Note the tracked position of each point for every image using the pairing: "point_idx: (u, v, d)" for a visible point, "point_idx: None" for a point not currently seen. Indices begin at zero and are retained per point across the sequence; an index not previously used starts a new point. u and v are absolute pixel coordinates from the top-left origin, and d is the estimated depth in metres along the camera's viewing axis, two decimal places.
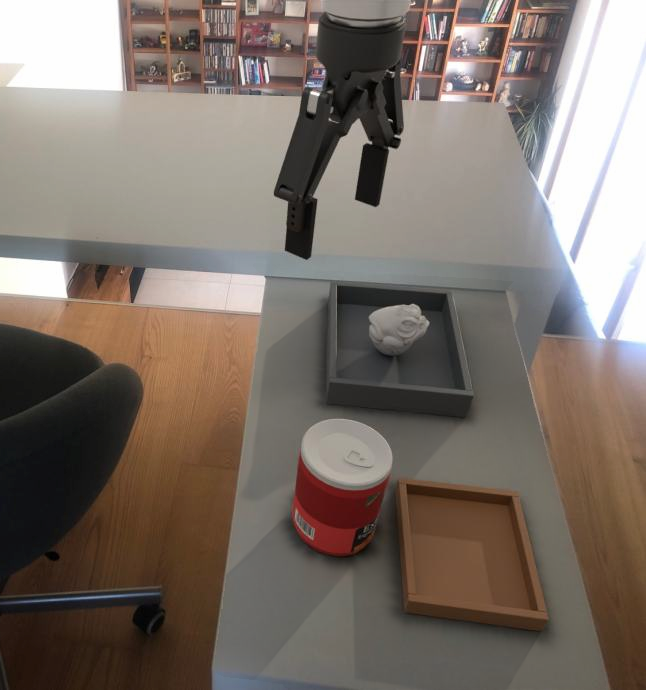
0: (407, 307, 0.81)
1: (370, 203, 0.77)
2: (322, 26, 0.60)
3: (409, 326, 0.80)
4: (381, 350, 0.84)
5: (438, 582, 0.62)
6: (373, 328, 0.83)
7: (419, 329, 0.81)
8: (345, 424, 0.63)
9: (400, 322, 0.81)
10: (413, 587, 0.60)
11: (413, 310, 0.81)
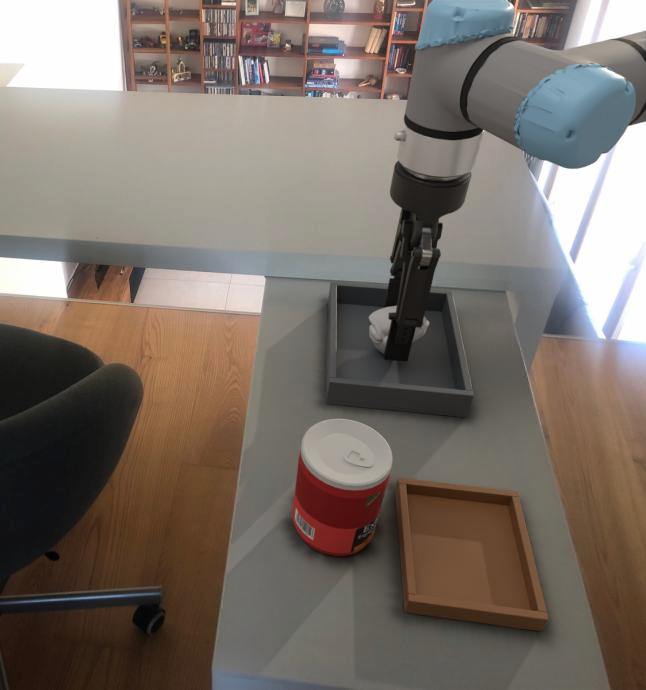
0: None
1: None
2: (415, 184, 0.68)
3: None
4: (381, 350, 0.84)
5: (438, 582, 0.62)
6: (373, 328, 0.83)
7: (419, 329, 0.81)
8: (345, 424, 0.63)
9: None
10: (413, 587, 0.60)
11: None
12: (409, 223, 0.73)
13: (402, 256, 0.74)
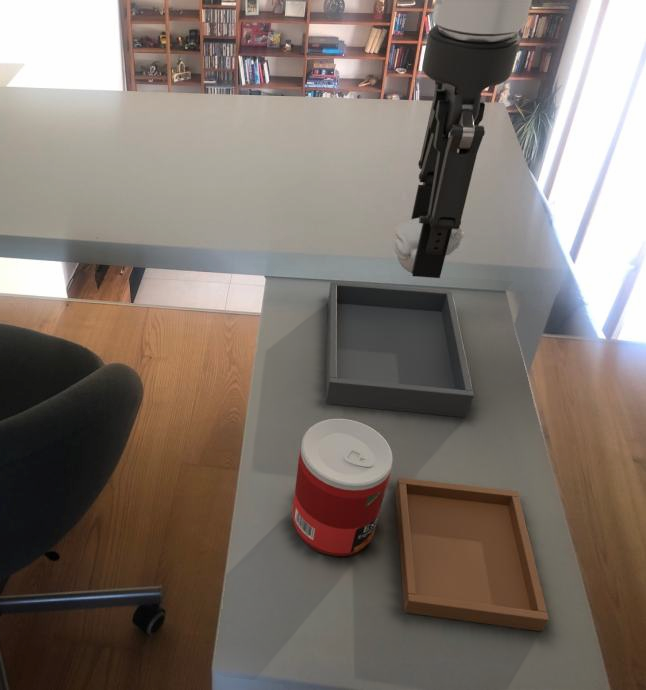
0: None
1: None
2: (454, 47, 0.57)
3: None
4: (408, 268, 0.73)
5: (438, 582, 0.62)
6: (399, 241, 0.72)
7: (454, 239, 0.70)
8: (345, 424, 0.63)
9: None
10: (413, 587, 0.60)
11: None
12: (445, 103, 0.62)
13: (436, 144, 0.63)
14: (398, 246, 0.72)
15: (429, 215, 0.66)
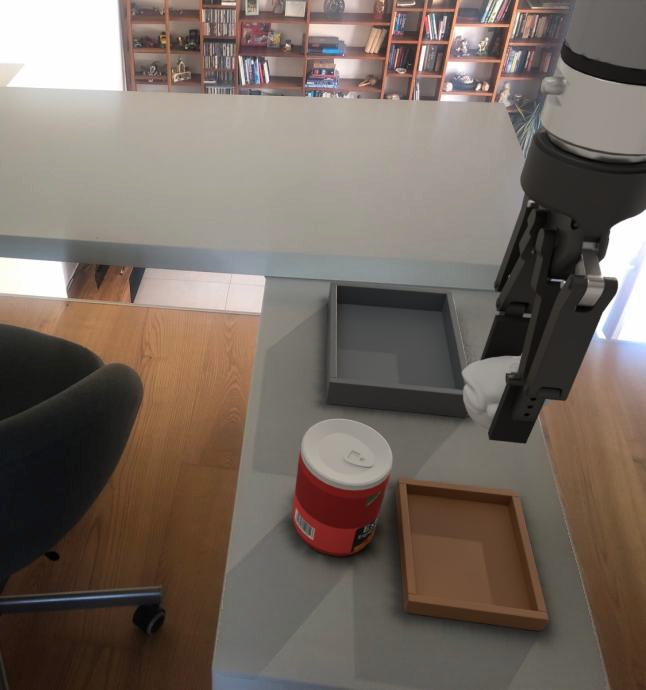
0: None
1: None
2: (579, 168, 0.40)
3: None
4: (481, 423, 0.56)
5: (438, 582, 0.62)
6: (471, 391, 0.55)
7: None
8: (345, 424, 0.63)
9: None
10: (413, 587, 0.60)
11: None
12: (552, 234, 0.44)
13: (537, 287, 0.46)
14: (469, 397, 0.55)
15: (521, 376, 0.48)
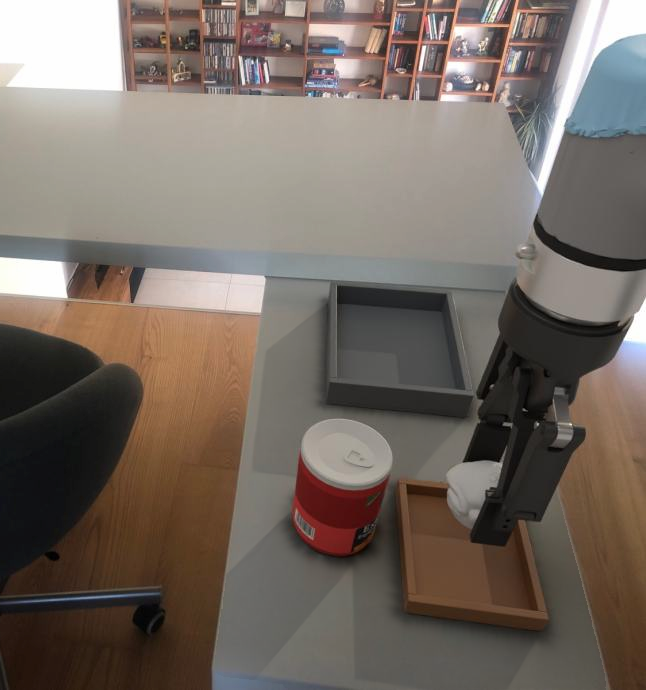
0: None
1: None
2: (550, 329, 0.43)
3: None
4: (464, 524, 0.59)
5: (438, 582, 0.62)
6: (454, 495, 0.58)
7: None
8: (345, 424, 0.63)
9: None
10: (413, 587, 0.60)
11: None
12: (527, 373, 0.48)
13: (514, 419, 0.49)
14: (452, 501, 0.58)
15: (499, 495, 0.52)
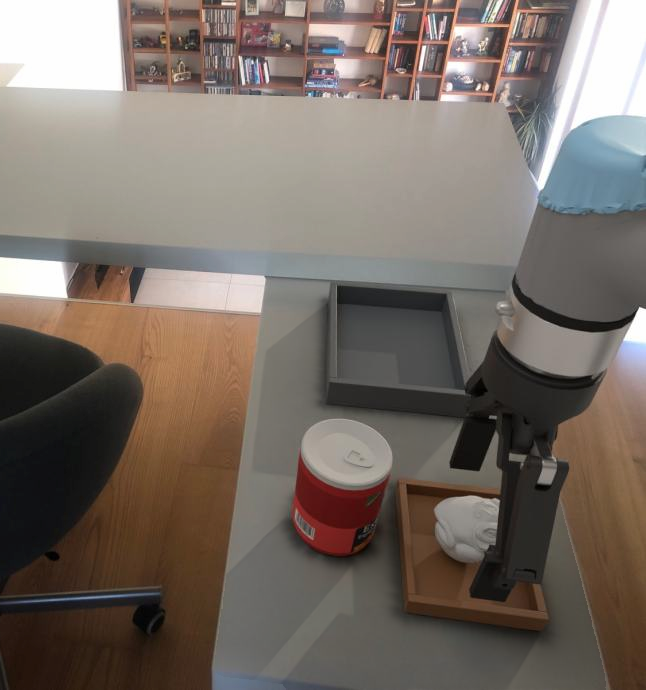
0: (489, 506, 0.60)
1: (472, 468, 0.66)
2: (528, 381, 0.46)
3: (493, 535, 0.59)
4: (451, 556, 0.62)
5: (438, 582, 0.62)
6: (441, 529, 0.62)
7: None
8: (345, 424, 0.63)
9: (480, 529, 0.59)
10: (413, 587, 0.60)
11: (498, 511, 0.60)
12: (509, 419, 0.51)
13: (502, 464, 0.51)
14: (440, 535, 0.62)
15: (499, 552, 0.51)
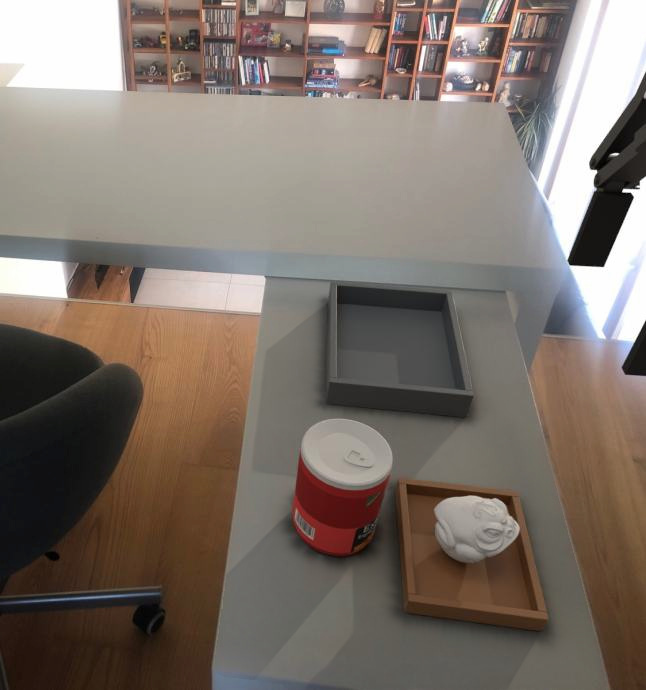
0: (490, 506, 0.60)
1: (596, 264, 0.58)
2: None
3: (493, 535, 0.59)
4: (451, 556, 0.62)
5: (438, 582, 0.62)
6: (441, 529, 0.62)
7: (507, 538, 0.59)
8: (345, 424, 0.63)
9: (480, 529, 0.59)
10: (413, 587, 0.60)
11: (498, 511, 0.60)
12: None
13: None
14: (440, 535, 0.62)
15: None
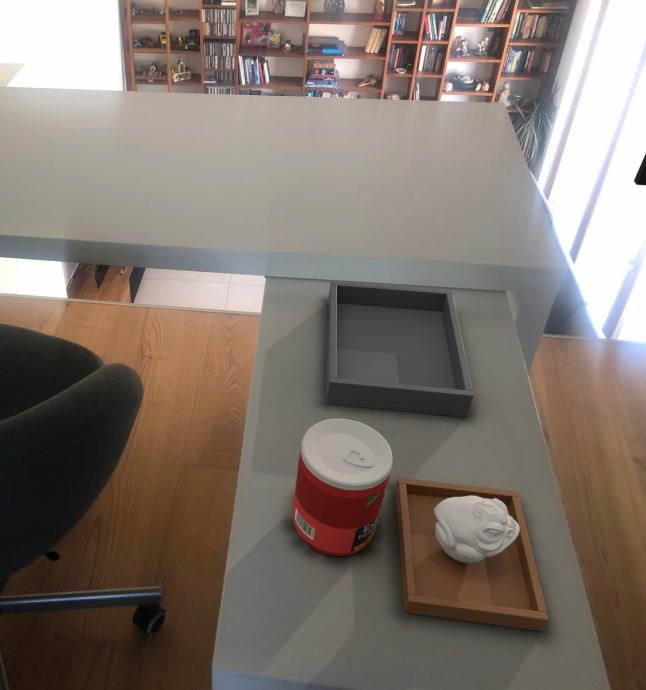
0: (490, 506, 0.60)
1: None
2: None
3: (493, 535, 0.59)
4: (451, 556, 0.62)
5: (438, 582, 0.62)
6: (441, 529, 0.62)
7: (507, 538, 0.59)
8: (345, 424, 0.63)
9: (480, 529, 0.59)
10: (413, 587, 0.60)
11: (498, 511, 0.60)
12: None
13: None
14: (440, 535, 0.62)
15: None
